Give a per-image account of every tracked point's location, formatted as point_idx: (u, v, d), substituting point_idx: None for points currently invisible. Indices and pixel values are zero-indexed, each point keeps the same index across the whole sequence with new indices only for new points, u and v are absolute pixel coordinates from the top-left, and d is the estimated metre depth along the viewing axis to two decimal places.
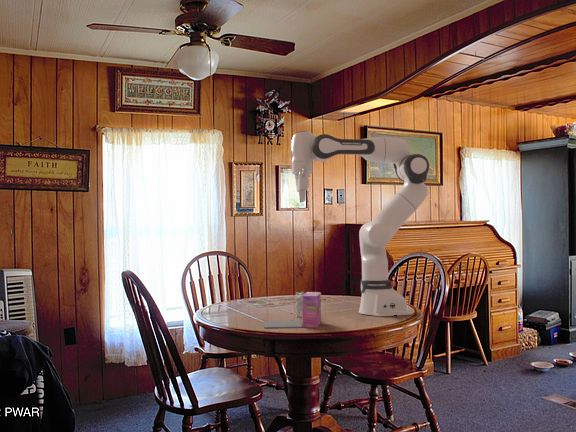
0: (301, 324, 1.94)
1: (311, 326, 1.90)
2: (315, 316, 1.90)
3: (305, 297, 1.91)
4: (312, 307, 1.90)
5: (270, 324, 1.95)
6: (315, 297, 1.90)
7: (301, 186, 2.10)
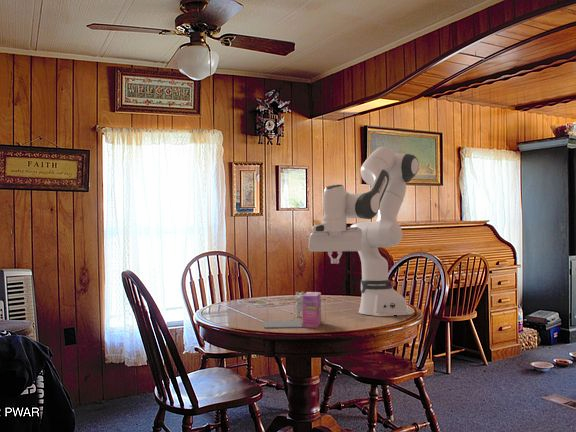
0: (301, 324, 1.94)
1: (311, 326, 1.90)
2: (315, 316, 1.90)
3: (305, 297, 1.91)
4: (312, 307, 1.90)
5: (270, 324, 1.95)
6: (315, 297, 1.90)
7: None
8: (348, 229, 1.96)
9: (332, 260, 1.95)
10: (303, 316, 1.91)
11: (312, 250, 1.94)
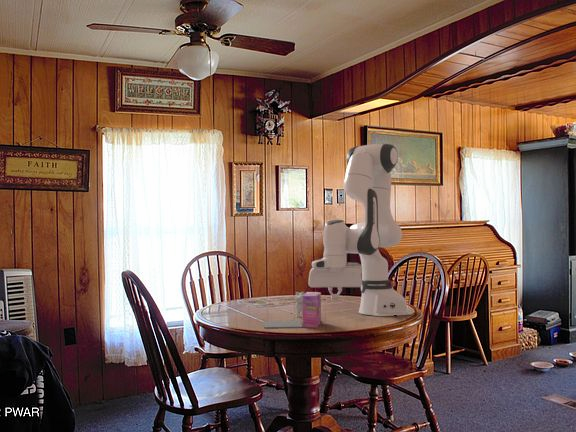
0: (301, 324, 1.94)
1: (311, 326, 1.90)
2: (315, 316, 1.90)
3: (305, 297, 1.91)
4: (312, 307, 1.90)
5: (270, 324, 1.95)
6: (315, 297, 1.90)
7: (361, 284, 1.95)
8: (348, 265, 1.95)
9: (332, 296, 1.95)
10: (303, 316, 1.91)
11: (312, 286, 1.94)
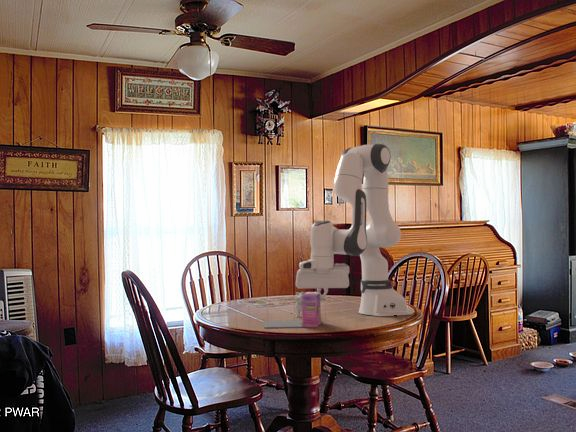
0: (301, 324, 1.94)
1: (312, 326, 1.90)
2: (315, 316, 1.90)
3: (304, 297, 1.91)
4: (312, 307, 1.90)
5: (270, 324, 1.95)
6: (314, 297, 1.90)
7: (348, 284, 1.95)
8: (336, 266, 1.95)
9: (321, 297, 1.94)
10: (303, 316, 1.91)
11: (299, 287, 1.93)
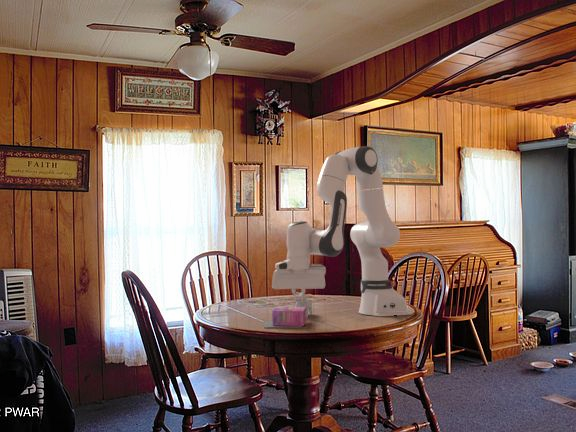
0: None
1: (302, 316, 1.91)
2: (292, 312, 1.91)
3: (274, 322, 1.93)
4: (283, 315, 1.92)
5: (270, 324, 1.95)
6: (273, 312, 1.93)
7: None
8: (312, 266, 1.95)
9: (295, 297, 1.94)
10: (292, 324, 1.91)
11: (275, 288, 1.93)
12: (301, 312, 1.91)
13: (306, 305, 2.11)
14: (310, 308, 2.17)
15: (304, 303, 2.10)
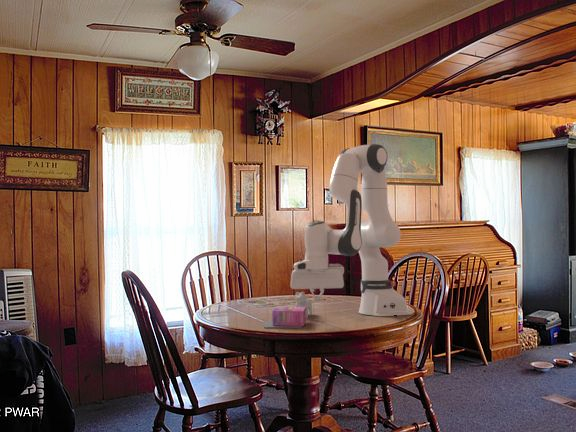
0: None
1: (302, 316, 1.91)
2: (292, 312, 1.91)
3: (274, 322, 1.93)
4: (283, 315, 1.92)
5: (270, 324, 1.95)
6: (273, 312, 1.93)
7: (343, 285, 1.95)
8: (330, 266, 1.95)
9: (314, 297, 1.95)
10: (292, 324, 1.91)
11: (294, 288, 1.94)
12: (301, 312, 1.91)
13: (306, 305, 2.11)
14: (310, 308, 2.17)
15: (304, 303, 2.10)
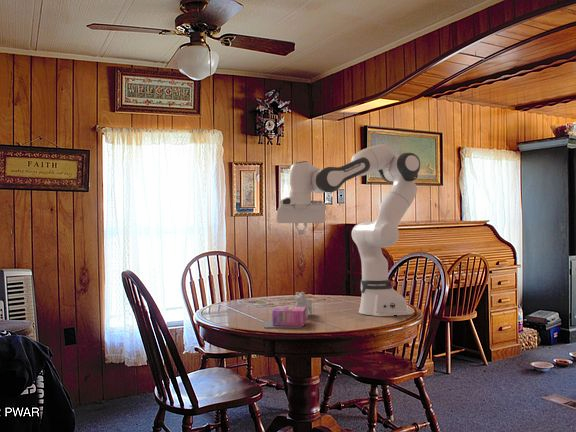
0: None
1: (302, 316, 1.91)
2: (292, 312, 1.91)
3: (274, 322, 1.93)
4: (283, 315, 1.92)
5: (270, 324, 1.95)
6: (273, 312, 1.93)
7: None
8: (313, 202, 2.11)
9: (298, 231, 2.10)
10: (292, 324, 1.91)
11: (279, 222, 2.09)
12: (301, 312, 1.91)
13: (306, 305, 2.11)
14: (310, 308, 2.17)
15: (304, 303, 2.10)
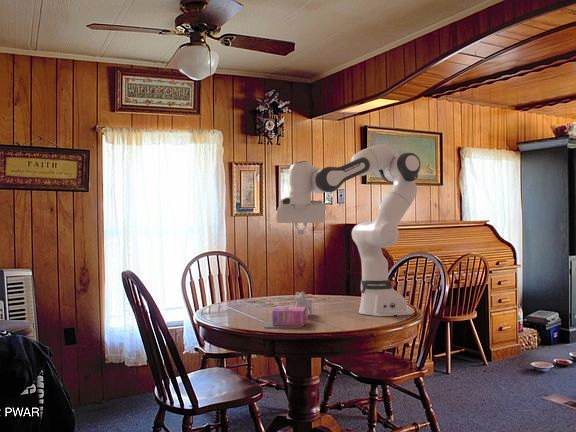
0: None
1: (302, 316, 1.91)
2: (292, 312, 1.91)
3: (274, 322, 1.93)
4: (283, 315, 1.92)
5: (270, 324, 1.95)
6: (273, 312, 1.93)
7: None
8: (313, 202, 2.12)
9: (298, 231, 2.11)
10: (292, 324, 1.91)
11: (279, 221, 2.10)
12: (301, 312, 1.91)
13: (306, 305, 2.11)
14: (310, 308, 2.17)
15: (304, 303, 2.10)
